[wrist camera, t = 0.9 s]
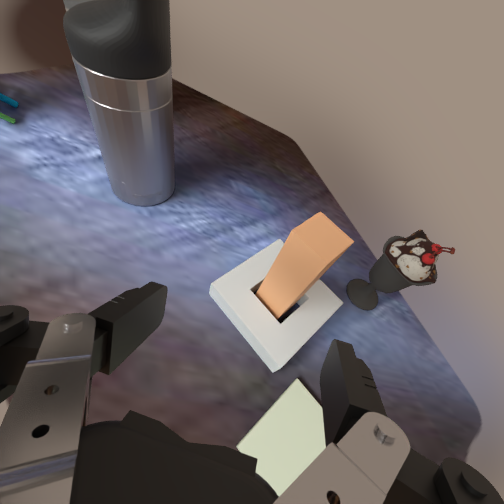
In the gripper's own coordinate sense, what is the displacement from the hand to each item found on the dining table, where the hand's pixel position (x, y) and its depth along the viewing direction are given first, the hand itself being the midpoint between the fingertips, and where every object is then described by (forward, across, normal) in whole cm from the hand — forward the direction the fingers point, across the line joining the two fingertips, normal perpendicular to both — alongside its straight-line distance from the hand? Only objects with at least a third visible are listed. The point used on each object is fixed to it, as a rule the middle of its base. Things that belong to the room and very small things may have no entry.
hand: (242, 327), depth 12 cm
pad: (+10, -8, +18) cm, 22 cm away
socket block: (+21, -1, +9) cm, 23 cm away
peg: (+21, -1, +9) cm, 23 cm away
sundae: (+27, -14, +6) cm, 31 cm away
